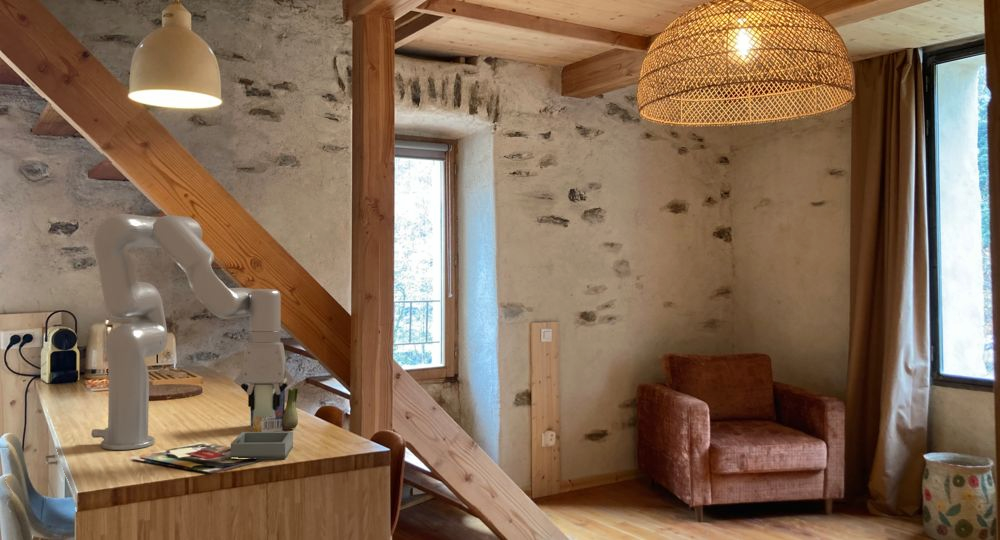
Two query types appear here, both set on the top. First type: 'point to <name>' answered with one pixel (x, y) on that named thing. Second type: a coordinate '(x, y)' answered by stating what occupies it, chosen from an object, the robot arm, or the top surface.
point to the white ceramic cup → (263, 400)
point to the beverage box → (270, 418)
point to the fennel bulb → (290, 410)
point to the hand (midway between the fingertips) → (264, 408)
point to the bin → (262, 445)
